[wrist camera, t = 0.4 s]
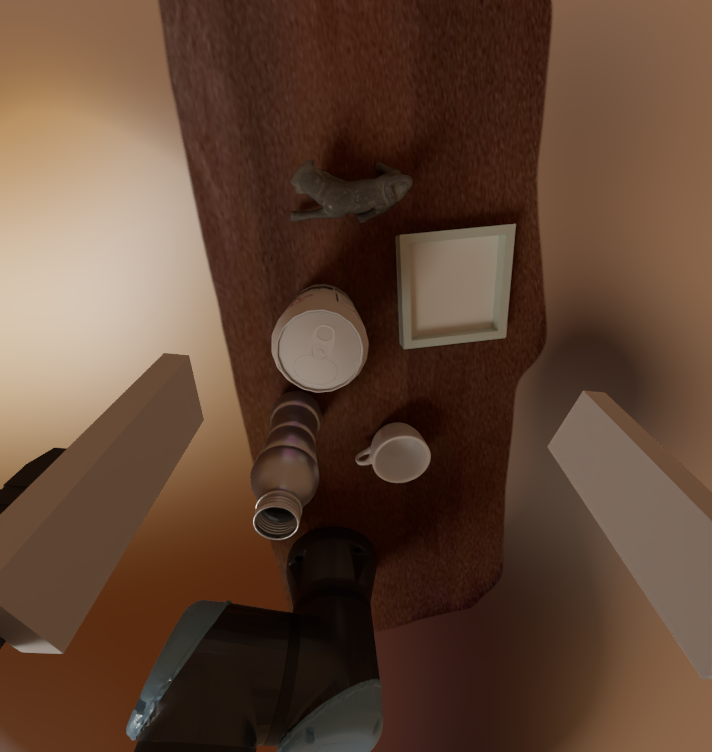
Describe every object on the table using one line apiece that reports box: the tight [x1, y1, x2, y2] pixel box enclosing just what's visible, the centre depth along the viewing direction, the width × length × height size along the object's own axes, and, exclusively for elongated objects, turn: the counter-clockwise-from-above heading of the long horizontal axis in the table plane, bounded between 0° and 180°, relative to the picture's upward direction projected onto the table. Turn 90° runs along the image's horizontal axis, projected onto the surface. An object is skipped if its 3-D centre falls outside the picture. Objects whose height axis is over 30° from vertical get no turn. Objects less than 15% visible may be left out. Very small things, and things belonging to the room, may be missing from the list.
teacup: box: [355, 422, 431, 483], centre depth 44 cm, size 10×8×5 cm
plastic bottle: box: [250, 391, 322, 540], centre depth 34 cm, size 6×7×20 cm
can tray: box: [395, 224, 516, 349], centre depth 38 cm, size 13×13×2 cm
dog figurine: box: [290, 160, 413, 223], centre depth 31 cm, size 12×6×7 cm, turn 92°
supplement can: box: [272, 284, 369, 393], centre depth 32 cm, size 8×8×15 cm
